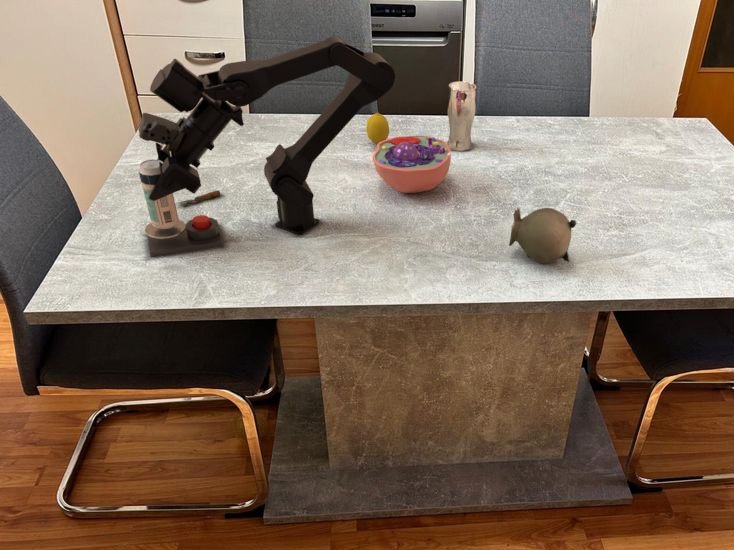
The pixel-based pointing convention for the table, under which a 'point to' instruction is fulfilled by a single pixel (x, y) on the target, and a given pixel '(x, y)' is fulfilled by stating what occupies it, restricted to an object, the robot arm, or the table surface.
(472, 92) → the cream vase
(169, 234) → the warming plate
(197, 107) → the robot arm
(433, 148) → the cell model
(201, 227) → the button
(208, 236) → the warmer
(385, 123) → the lemon
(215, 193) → the can opener
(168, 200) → the beer can
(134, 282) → the table surface
